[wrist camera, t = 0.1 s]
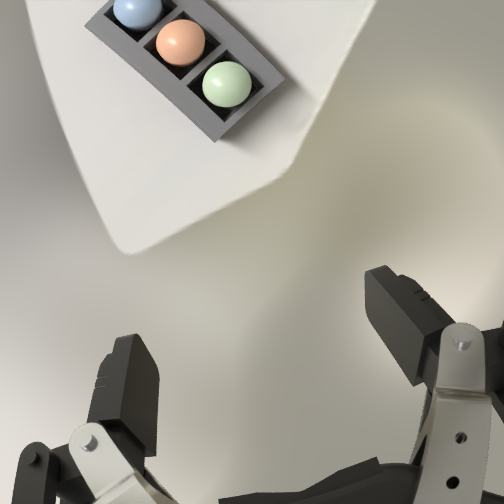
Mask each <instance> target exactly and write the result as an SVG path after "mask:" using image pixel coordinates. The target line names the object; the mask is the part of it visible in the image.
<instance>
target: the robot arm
mask: <svg viewBox="0 0 504 504" xmlns="http://www.w3.org/2000/svg"><path fill="white" fill-rule="evenodd" d="M365 309H366V313H367V317H368V319H369V321H370V322H371V324H372V326H373V327H374V329H375V330H376V332H377V333H378V334H379V336H380V337H381V339H382V340H383V342H384V343H385V345H386V346H387V348H388V349H389V351H390V352H391V354H392V355H393V357H394V358H395V360H396V361H397V363H398V364H399V366H400V367H401V369H402V371H403V372H404V374H405V375H406V377H407V378H408V380H409V381H410V383H411V384H412V386H413V387H414V386H416V385H418V384H420V383H422V382H424V383H425V385H426V386H427V391H426V395H425V400H424V406H423V411H422V416H421V421H420V426H419V430H418V435H417V439H416V442H415V445H414V448H413V451H412V454H411V458H410V461H409V464H405V463H386V464H379V462H378V459H377V457H374V458H371V459H369V460H366V461H364V462H361V463H358V464H356V465H353V466H350V467H348V468H345V469H342V470H339V471H337V472H336V473H334V474H332V475H331V476H329V477H327V478H325V479H324V480H322V481H320V482H318V483H316V484H315V485H313V486H311V487H309V488H307V489H306V490H303V491H300V492H285V493H284V492H283V493H252V494H247V495H241V496H235V497H229V498H222V499H219V504H504V496H500V495H497V494H494V493H490V492H487V491H484V490H483V485H484V479H485V473H486V466H487V459H488V450H489V440H490V428H491V410H492V405H493V407H494V408H495V410H496V411H497V413H498V414H499V416H500V418H501V420H502V421H503V423H504V321H503V324H502V327H501V328H496V329H491V330H486V331H480V330H479V329H478V328H476V327H475V326H473V325H471V324H468V323H456V322H455V321H454V320H453V319H452V318H451V317H450V316H449V315H448V314H447V313H446V312H445V310H443V308H442V307H441V306H440V305H439V304H438V303H437V302H436V301H435V300H434V299H433V298H431V297H430V295H429V294H428V293H427V292H426V291H424V290H423V288H422V287H421V286H420V285H419V284H418V283H417V282H416V281H415V280H413V279H411V278H409V277H407V276H405V275H399V276H397V275H396V274H395V273H394V272H393V271H392V270H391V269H390V268H389V267H388V266H386V265H384V266H381V267H378V268H375V269H372V270H369V271H366V272H365ZM97 378H98V379H97V380H96V383H95V389H94V392H93V396H92V400H91V405H90V410H89V414H88V419H87V423H86V424H84V425H81V426H80V427H78V428H77V429H76V430H75V431H74V432H73V434H72V435H71V437H70V440H69V443H68V444H66V445H63V446H60V447H57V448H55V449H52V450H50V449H49V448H48V447H47V446H45V444H43V443H41V442H33V443H31V444H29V445H27V446H26V447H25V448H24V450H23V451H22V453H21V455H20V458H19V462H18V468H17V472H16V478H15V484H14V490H13V497H12V503H11V504H55V503H56V496H57V497H59V498H60V504H179V503H178V502H177V501H176V500H175V499H174V498H173V497H172V496H171V495H170V494H169V493H168V492H167V491H166V489H164V487H163V486H162V485H161V484H160V483H159V482H158V481H157V479H156V478H155V477H154V476H153V475H152V474H151V473H150V471H149V470H148V469H147V468H146V467H145V466H144V460H145V457H153V456H156V443H157V416H158V397H159V381H160V380H159V379H160V378H159V371H158V368H157V365H156V363H155V361H154V360H153V358H152V356H151V354H150V353H149V351H148V349H147V348H146V346H145V344H144V342H143V341H142V339H141V337H140V336H139V335H138V334H132V335H127V336H122V337H118V338H116V340H115V344H114V348H113V352H112V353H111V354H108V355H107V356H106V357H105V359H104V360H103V362H102V363H101V365H100V367H99V371H98V375H97Z"/></svg>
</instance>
